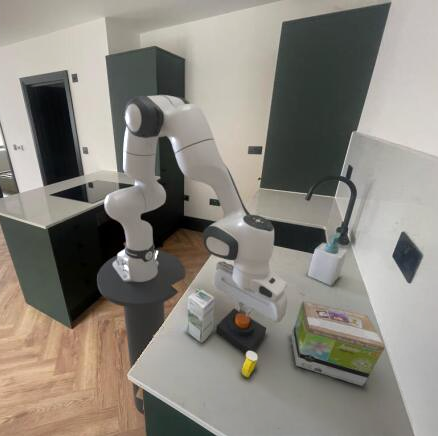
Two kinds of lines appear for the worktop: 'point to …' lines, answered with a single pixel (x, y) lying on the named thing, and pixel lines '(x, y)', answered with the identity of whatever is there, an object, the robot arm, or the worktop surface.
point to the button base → (240, 332)
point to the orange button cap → (242, 320)
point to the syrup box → (200, 314)
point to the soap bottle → (327, 261)
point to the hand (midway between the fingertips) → (243, 313)
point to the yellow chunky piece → (249, 363)
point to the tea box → (335, 342)
